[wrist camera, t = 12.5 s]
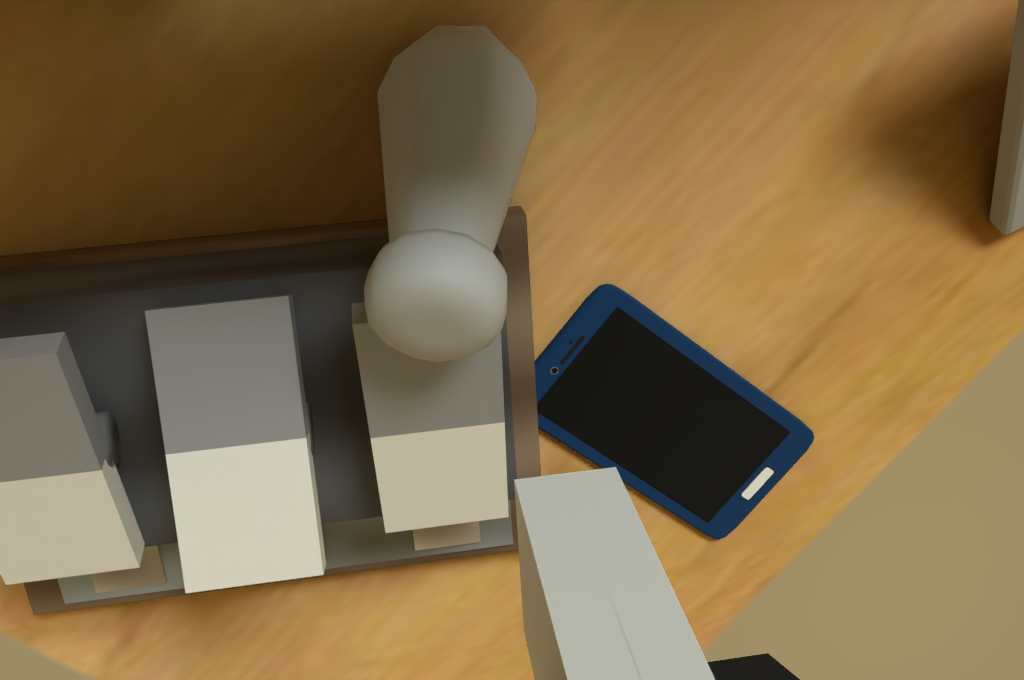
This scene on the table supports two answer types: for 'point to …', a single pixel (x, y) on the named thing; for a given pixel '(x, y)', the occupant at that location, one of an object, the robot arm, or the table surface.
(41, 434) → the left rocker
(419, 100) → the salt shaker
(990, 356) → the table surface
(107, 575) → the switch console
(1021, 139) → the light switch
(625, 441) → the cell phone
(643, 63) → the table surface
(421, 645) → the table surface
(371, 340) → the right rocker
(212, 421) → the middle rocker
